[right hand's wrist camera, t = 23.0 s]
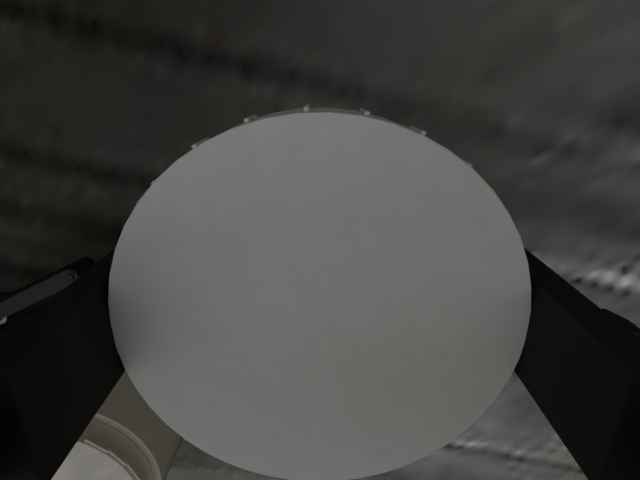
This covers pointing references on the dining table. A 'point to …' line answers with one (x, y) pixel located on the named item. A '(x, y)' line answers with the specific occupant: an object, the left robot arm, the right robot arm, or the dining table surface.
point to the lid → (319, 295)
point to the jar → (122, 441)
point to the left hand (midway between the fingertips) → (206, 340)
